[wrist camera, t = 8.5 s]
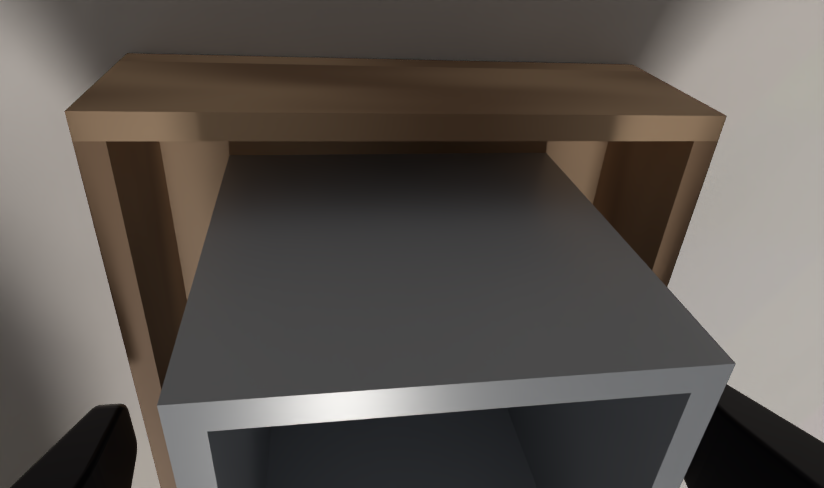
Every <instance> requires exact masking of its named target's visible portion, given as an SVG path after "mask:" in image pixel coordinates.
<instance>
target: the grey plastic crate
mask: <svg viewBox="0 0 824 488" xmlns="http://www.w3.org/2000/svg"><path fill="white" fill-rule="evenodd" d="M735 364H736V363H735V362H734V361H733V360H732V359H731V358H730V357H729V356H728V355H727V353H726V352H725V351H724V350H723V349H722V348H721V347H720V346H719V345H718V343H717V342H716V341H715V340H714V339H713V338H712V337H711V336H710V335H709V333H708V332H707V331H706V330H705V329H704V328H703V327H702V326H701V325H700V323H699V322H698V321H697V320H696V319H695V318H694V317H693V316H692V314H691V313H690V312H689V311H688V310H687V309H686V308H685V307H684V306H683V304H682V303H681V302H680V301H679V300H678V299H677V298H676V297H675V296H674V294H673V293H672V292H671V291H670V290H669V289H668V288H667V287H666V286H665V284H664V283H663V282H662V281H661V280H660V279H659V278H658V277H657V276H656V274H655V273H654V272H653V271H652V270H651V269H650V268H649V267H648V266H647V264H646V263H645V262H644V261H643V260H642V259H641V258H640V257H639V255H638V254H637V253H636V252H635V251H634V250H633V249H632V248H631V247H630V245H629V244H628V243H627V242H626V241H625V240H624V239H623V238H622V237H621V235H620V234H619V233H618V232H617V231H616V230H615V229H614V228H613V227H612V225H611V224H610V223H609V222H608V221H607V220H606V219H605V218H604V217H603V215H602V214H601V213H600V212H599V211H598V210H597V209H596V208H595V207H594V205H593V204H592V203H591V202H590V201H589V200H588V199H587V198H586V196H585V195H584V194H583V193H582V192H581V191H580V190H579V189H578V188H577V186H576V185H575V184H574V183H573V182H572V181H571V180H570V179H569V178H568V176H567V175H566V174H565V173H564V172H563V171H562V170H561V169H560V168H559V166H558V165H557V164H556V163H555V162H554V161H553V160H552V159H551V158H550V156H549V155H548V154H547V153H453V154H332V155H229V158H228V162H227V165H226V169H225V172H224V176H223V179H222V183H221V186H220V190H219V193H218V196H217V200H216V203H215V207H214V210H213V214H212V217H211V221H210V224H209V228H208V231H207V234H206V238H205V241H204V245H203V248H202V252H201V255H200V259H199V262H198V266H197V269H196V272H195V276H194V279H193V283H192V286H191V290H190V293H189V297H188V300H187V304H186V307H185V310H184V314H183V317H182V321H181V324H180V328H179V331H178V335H177V338H176V342H175V345H174V348H173V352H172V355H171V359H170V362H169V366H168V369H167V373H166V376H165V380H164V383H163V386H162V390H161V393H160V397H159V400H158V404H157V408H158V412H159V416H160V420H161V424H162V429H163V433H164V437H165V441H166V445H167V449H168V453H169V458H170V462H171V466H172V470H173V474H174V478H175V482H176V487H177V488H679V487H680V485H681V483H682V481H683V479H684V476H685V474H686V472H687V470H688V468H689V465H690V463H691V461H692V459H693V457H694V454H695V452H696V450H697V448H698V446H699V443H700V441H701V439H702V437H703V435H704V432H705V430H706V428H707V426H708V424H709V421H710V419H711V417H712V415H713V413H714V410H715V408H716V406H717V404H718V402H719V399H720V397H721V395H722V393H723V391H724V388H725V386H726V384H727V382H728V380H729V377H730V375H731V373H732V371H733V369H734V366H735Z"/></svg>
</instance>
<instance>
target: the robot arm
mask: <svg viewBox="0 0 824 488" xmlns="http://www.w3.org/2000/svg"><path fill="white" fill-rule="evenodd" d="M136 455H137V441H136V436H135V433H134V429H133V425H132V422H131V418H130V414H129V411H128V408H127V407H126V406H125V405H124V404H109V405H98V406H96V407H94V408H93V409H92V410H90V411H89V412H88V413H87V414H86V415H85V416H84V417H83V418H82V419H81V420H80V421H79V422H78V423H77V424H76V425H75V426H74V427H73V428H72V429H71V430H70V431H69V432H68V433H67V434H65V435H64V436H63V437H62V438H61V439H60V440H59V441H58V442H57V443H56V444H55V445H54V446H53V447H52V448H51V449H50V450H49V451H48V452H47V453H46V454H45V455H44V456H43V457H42V458H41V459H39V460H38V461H37V462H36V463H35V464H34V465H33V466H32V467H31V468H30V469H29V470H28V471H27V472H26V473H25V474H24V475H23V476H22V477H21V478H20V479H19V480H18V481H17V482H16V483H15V484H14V485H12V486H11V487H10V488H131V485H132V479H133V473H134V467H135V461H136ZM684 480H685V482H686V485H687V487H688V488H824V443H823V442H822V441H820V440H818V439H817V438H815V437H813V436H812V435H810V434H808V433H807V432H805V431H803V430H802V429H800V428H798V427H797V426H795V425H793V424H792V423H790V422H788V421H787V420H785V419H783V418H782V417H780V416H778V415H777V414H775V413H773V412H772V411H770V410H768V409H767V408H765V407H763V406H762V405H760V404H759V403H757V402H755V401H754V400H752V399H750V398H749V397H747V396H745V395H744V394H742V393H740V392H739V391H737V390H735V389H734V388H732V387H730V386H729V385H727V384H726V386H725V388H724V391H723V393H722V395H721V397H720V399H719V402H718V404H717V406H716V408H715V410H714V413H713V415H712V417H711V419H710V421H709V424H708V426H707V428H706V430H705V432H704V435H703V437H702V439H701V441H700V443H699V446H698V448H697V450H696V452H695V454H694V457H693V459H692V461H691V463H690V465H689V468H688V470H687V472H686V474H685V476H684Z"/></svg>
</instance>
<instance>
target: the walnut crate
mask: <svg viewBox="0 0 824 488" xmlns="http://www.w3.org/2000/svg"><path fill="white" fill-rule="evenodd" d="M65 114H66V118H67V122H68V126H69V130H70V134H71V138H72V142H73V146H74V150H75V153H76V157H77V161H78V165H79V169H80V173H81V177H82V181H83V185H84V189H85V193H86V197H87V200H88V204H89V208H90V212H91V216H92V220H93V224H94V228H95V232H96V236H97V240H98V244H99V247H100V251H101V255H102V259H103V263H104V267H105V271H106V275H107V279H108V283H109V287H110V291H111V295H112V298H113V302H114V306H115V310H116V314H117V318H118V322H119V326H120V330H121V334H122V338H123V342H124V345H125V349H126V353H127V357H128V361H129V365H130V369H131V373H132V377H133V381H134V385H135V389H136V392H137V396H138V400H139V404H140V408H141V412H142V416H143V420H144V424H145V428H146V432H147V436H148V439H149V443H150V447H151V451H152V455H153V459H154V463H155V467H156V471H157V475H158V479H159V483H160V486H161V488H177V487H176V482H175V478H174V474H173V470H172V466H171V462H170V458H169V453H168V449H167V445H166V441H165V437H164V433H163V429H162V424H161V420H160V416H159V412H158V408H157V404H158V400H159V397H160V393H161V390H162V386H163V383H164V380H165V376H166V373H167V369H168V366H169V362H170V359H171V355H172V352H173V348H174V345H175V342H176V338H177V335H178V331H179V328H180V324H181V321H182V317H183V314H184V310H185V307H186V304H187V300H188V297H189V293H190V290H191V286H192V283H193V279H194V276H195V272H196V269H197V266H198V262H199V259H200V255H201V252H202V248H203V245H204V241H205V238H206V234H207V231H208V228H209V224H210V221H211V217H212V214H213V210H214V207H215V203H216V200H217V196H218V193H219V190H220V186H221V183H222V179H223V176H224V172H225V169H226V165H227V162H228V158H229V155H332V154H453V153H547V154H548V155H549V156H550V158H551V159H552V160H553V161H554V162H555V163H556V164H557V165H558V166H559V168H560V169H561V170H562V171H563V172H564V173H565V174H566V175H567V176H568V178H569V179H570V180H571V181H572V182H573V183H574V184H575V185H576V186H577V188H578V189H579V190H580V191H581V192H582V193H583V194H584V195H585V196H586V198H587V199H588V200H589V201H590V202H591V203H592V204H593V205H594V207H595V208H596V209H597V210H598V211H599V212H600V213H601V214H602V215H603V217H604V218H605V219H606V220H607V221H608V222H609V223H610V224H611V225H612V227H613V228H614V229H615V230H616V231H617V232H618V233H619V234H620V235H621V237H622V238H623V239H624V240H625V241H626V242H627V243H628V244H629V245H630V247H631V248H632V249H633V250H634V251H635V252H636V253H637V254H638V255H639V257H640V258H641V259H642V260H643V261H644V262H645V263H646V264H647V266H648V267H649V268H650V269H651V270H652V271H653V272H654V273H655V274H656V276H657V277H658V278H659V279H660V280H661V281H662V282H663V283H664V284H665V286H666V287H667V286H668V283H669V280H670V278H671V275H672V272H673V269H674V266H675V263H676V260H677V257H678V255H679V252H680V249H681V246H682V243H683V240H684V237H685V234H686V232H687V229H688V226H689V223H690V220H691V217H692V214H693V211H694V209H695V206H696V203H697V200H698V197H699V194H700V191H701V188H702V186H703V183H704V180H705V177H706V174H707V171H708V168H709V165H710V162H711V160H712V157H713V154H714V151H715V148H716V145H717V142H718V139H719V137H720V134H721V131H722V128H723V125H724V122H725V119H726V115H724V114H722V113H720V112H718V111H717V110H715V109H713V108H711V107H709V106H707V105H706V104H704V103H702V102H700V101H698V100H696V99H695V98H693V97H691V96H689V95H687V94H685V93H684V92H682V91H680V90H678V89H676V88H675V87H673V86H671V85H669V84H667V83H665V82H664V81H662V80H660V79H658V78H656V77H654V76H653V75H651V74H649V73H647V72H645V71H643V70H642V69H640V68H638V67H636V66H634V65H626V64H582V63H537V62H492V61H448V60H403V59H358V58H313V57H269V56H224V55H179V54H135V53H127V54H126V55H125V56H124V57H123V58H122V59H121V60H119V61H118V62H117V63H116V64H115V65H114V66H113V67H112V68H111V69H110V70H109V71H108V72H106V73H105V74H104V75H103V76H102V77H101V78H100V79H99V80H98V81H97V82H96V83H95V84H94V85H92V86H91V87H90V88H89V89H88V90H87V91H86V92H85V93H84V94H83V95H82V96H81V97H79V98H78V99H77V100H76V101H75V102H74V103H73V104H72V105H71V106H70V107H69V108H68V109H67V110H65Z"/></svg>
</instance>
